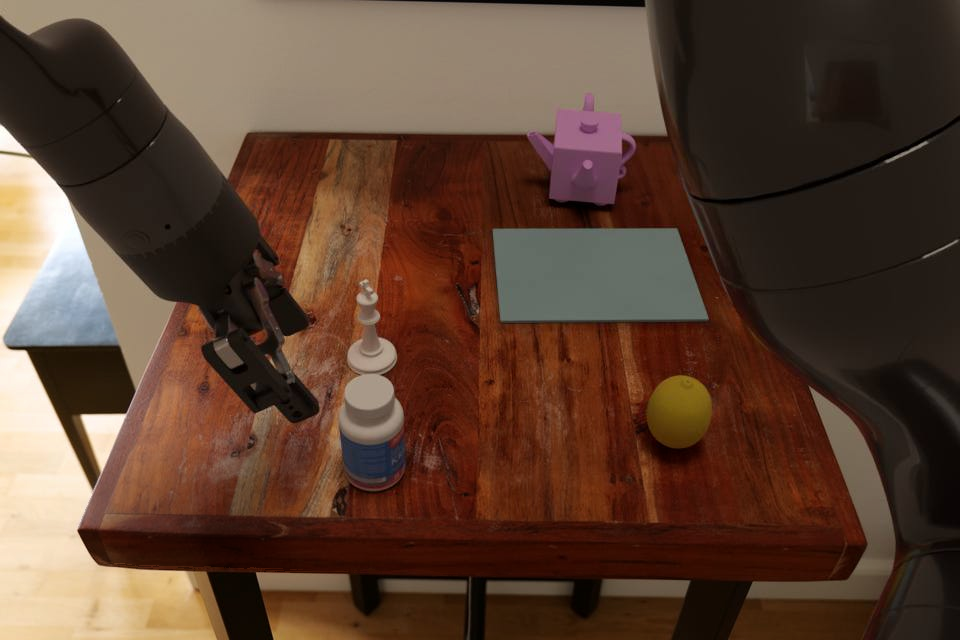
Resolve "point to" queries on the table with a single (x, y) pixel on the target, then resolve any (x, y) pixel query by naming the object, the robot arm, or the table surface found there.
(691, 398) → the lemon
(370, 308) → the chess piece
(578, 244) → the cloth mat
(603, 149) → the teapot
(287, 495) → the table surface
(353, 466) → the pill bottle
